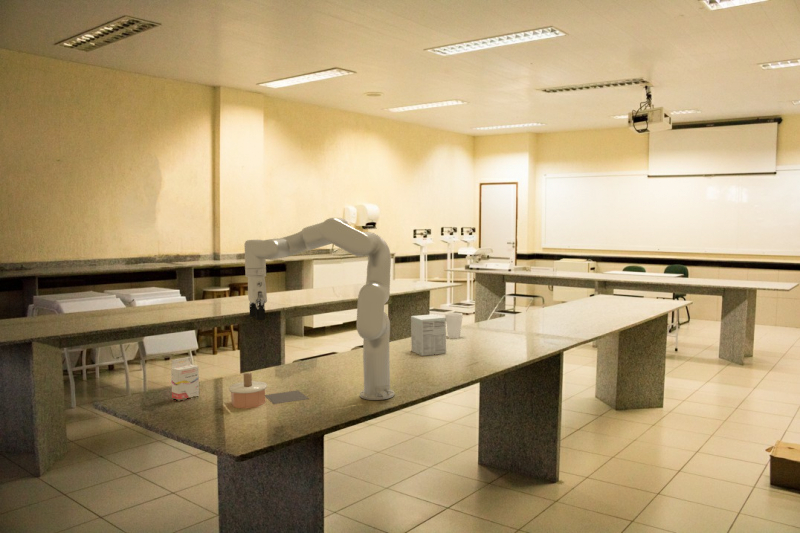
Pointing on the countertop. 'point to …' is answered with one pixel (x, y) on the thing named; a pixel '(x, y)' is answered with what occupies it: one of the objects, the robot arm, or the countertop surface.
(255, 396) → the bowl
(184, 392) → the ink cartridge box
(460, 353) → the countertop surface
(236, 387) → the lid
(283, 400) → the mat
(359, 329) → the robot arm
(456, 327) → the foam cup
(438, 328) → the supplement box
